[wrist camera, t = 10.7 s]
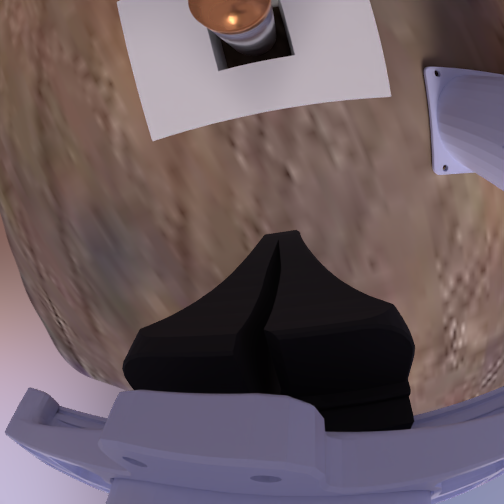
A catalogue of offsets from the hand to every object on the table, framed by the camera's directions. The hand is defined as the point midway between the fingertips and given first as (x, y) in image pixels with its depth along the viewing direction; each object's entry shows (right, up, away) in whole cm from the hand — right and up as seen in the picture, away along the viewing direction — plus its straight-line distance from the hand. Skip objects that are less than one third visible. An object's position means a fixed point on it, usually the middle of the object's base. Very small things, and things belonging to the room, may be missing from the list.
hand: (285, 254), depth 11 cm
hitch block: (-1, +14, +4) cm, 14 cm away
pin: (-1, +14, +4) cm, 14 cm away
